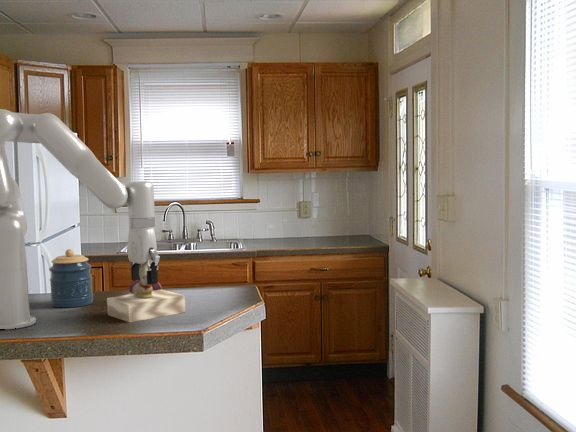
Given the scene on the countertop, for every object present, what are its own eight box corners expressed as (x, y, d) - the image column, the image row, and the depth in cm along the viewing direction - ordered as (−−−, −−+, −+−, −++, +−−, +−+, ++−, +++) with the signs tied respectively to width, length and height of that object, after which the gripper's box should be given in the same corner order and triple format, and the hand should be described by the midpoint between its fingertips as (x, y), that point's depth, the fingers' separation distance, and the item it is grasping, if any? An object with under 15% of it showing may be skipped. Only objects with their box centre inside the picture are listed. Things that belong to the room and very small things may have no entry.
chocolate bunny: (133, 299, 210) (132, 265, 209) (134, 294, 217) (132, 261, 216) (153, 298, 210) (151, 264, 210) (153, 293, 218) (151, 260, 217)
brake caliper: (171, 291, 235) (159, 266, 227) (160, 318, 227) (148, 292, 219) (138, 291, 238) (126, 265, 230) (127, 317, 230) (114, 291, 222)
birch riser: (129, 322, 203) (128, 304, 203) (107, 314, 214) (106, 298, 214) (185, 312, 214) (184, 295, 214) (162, 305, 225) (161, 289, 225)
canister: (67, 310, 223) (64, 252, 222) (42, 305, 231) (39, 250, 230) (102, 302, 233) (99, 247, 232) (76, 298, 241) (73, 245, 240)
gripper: (117, 223, 216) (119, 280, 218) (144, 226, 203) (147, 287, 204) (139, 221, 221) (142, 277, 222) (168, 224, 208) (170, 283, 209)
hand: (144, 281), depth 213 cm, fingers open, 9 cm apart
